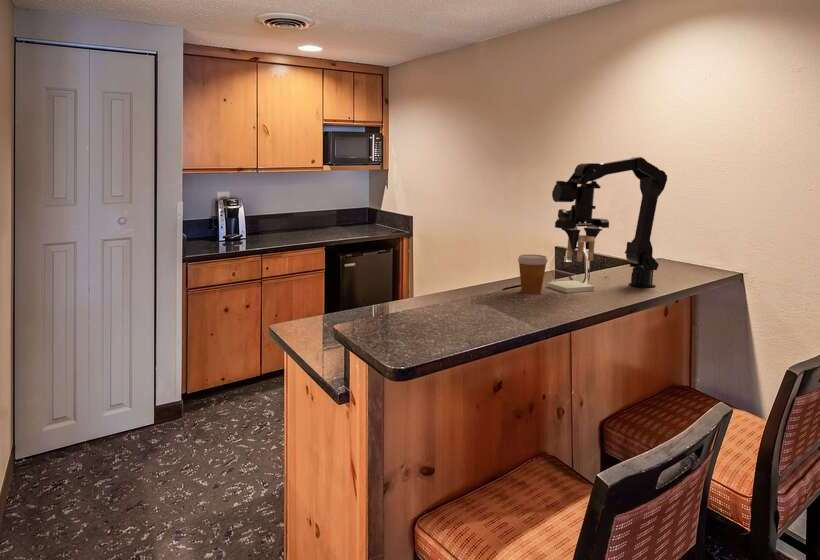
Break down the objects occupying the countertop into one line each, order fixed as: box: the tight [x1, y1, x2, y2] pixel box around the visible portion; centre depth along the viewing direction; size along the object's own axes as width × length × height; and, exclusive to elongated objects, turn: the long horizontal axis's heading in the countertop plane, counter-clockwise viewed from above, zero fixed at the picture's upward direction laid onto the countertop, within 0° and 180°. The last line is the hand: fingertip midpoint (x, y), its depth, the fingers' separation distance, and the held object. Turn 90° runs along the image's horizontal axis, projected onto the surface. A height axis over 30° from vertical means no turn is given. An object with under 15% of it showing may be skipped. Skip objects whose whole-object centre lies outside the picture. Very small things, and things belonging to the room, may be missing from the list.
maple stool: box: [566, 234, 596, 262], centre depth 189 cm, size 6×6×8 cm
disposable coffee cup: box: [517, 253, 548, 295], centre depth 185 cm, size 10×10×12 cm
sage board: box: [546, 279, 595, 294], centre depth 192 cm, size 11×11×2 cm
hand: (580, 249), depth 189 cm, fingers closed on maple stool, 6 cm apart
